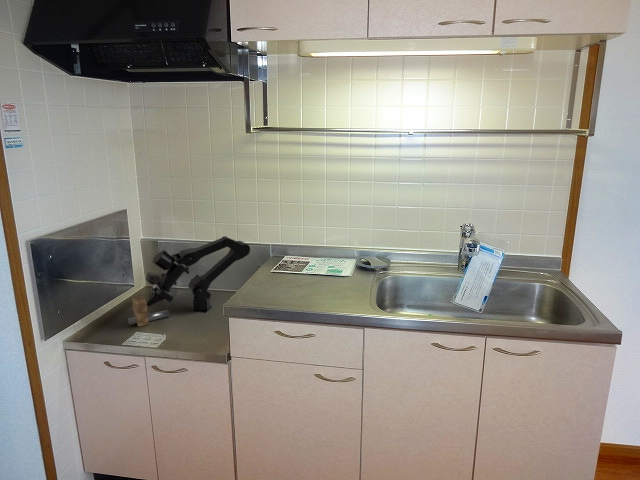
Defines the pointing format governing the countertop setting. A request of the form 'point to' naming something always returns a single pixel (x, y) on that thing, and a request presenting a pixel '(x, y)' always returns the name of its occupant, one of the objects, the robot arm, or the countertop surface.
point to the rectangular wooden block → (140, 310)
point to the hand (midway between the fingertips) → (147, 305)
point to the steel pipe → (150, 317)
